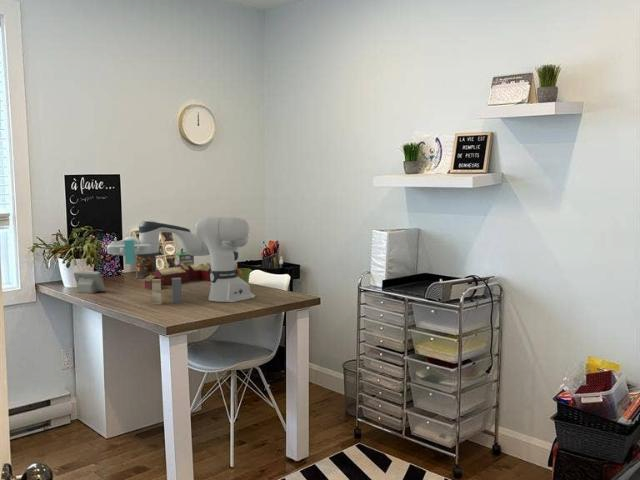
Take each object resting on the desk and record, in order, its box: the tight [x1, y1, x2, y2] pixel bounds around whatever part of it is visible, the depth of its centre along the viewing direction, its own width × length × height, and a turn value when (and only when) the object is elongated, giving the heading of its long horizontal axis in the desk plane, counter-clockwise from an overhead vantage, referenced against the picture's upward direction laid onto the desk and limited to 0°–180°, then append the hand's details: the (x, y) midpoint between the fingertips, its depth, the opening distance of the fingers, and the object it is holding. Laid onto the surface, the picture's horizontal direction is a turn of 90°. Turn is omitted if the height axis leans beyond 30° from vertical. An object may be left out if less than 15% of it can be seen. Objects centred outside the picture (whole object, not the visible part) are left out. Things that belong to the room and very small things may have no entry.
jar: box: [135, 255, 157, 279], centre depth 358 cm, size 12×12×15 cm
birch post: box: [151, 279, 162, 306], centre depth 283 cm, size 4×4×11 cm
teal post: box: [124, 239, 136, 265], centre depth 286 cm, size 4×4×11 cm
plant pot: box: [235, 267, 252, 284], centre depth 328 cm, size 9×9×9 cm
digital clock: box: [73, 270, 106, 294], centre depth 313 cm, size 16×9×11 cm, turn 60°
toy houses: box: [144, 262, 211, 291], centre depth 338 cm, size 45×20×10 cm, turn 136°
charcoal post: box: [171, 278, 183, 304], centre depth 287 cm, size 4×4×11 cm
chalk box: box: [174, 247, 195, 267], centre depth 374 cm, size 9×9×15 cm
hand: (129, 250), depth 285 cm, fingers closed on teal post, 4 cm apart
